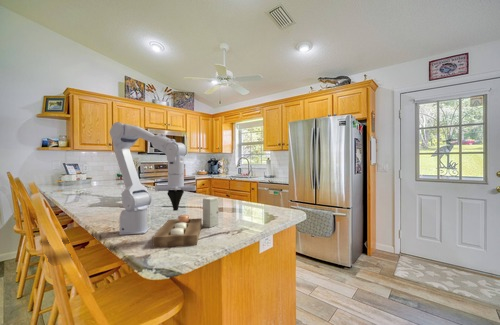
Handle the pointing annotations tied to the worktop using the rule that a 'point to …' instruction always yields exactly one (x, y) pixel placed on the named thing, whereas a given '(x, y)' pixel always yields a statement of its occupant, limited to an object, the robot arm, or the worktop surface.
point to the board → (188, 238)
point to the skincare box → (210, 211)
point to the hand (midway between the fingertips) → (175, 210)
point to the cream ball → (180, 225)
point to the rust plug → (183, 218)
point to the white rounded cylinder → (177, 231)
